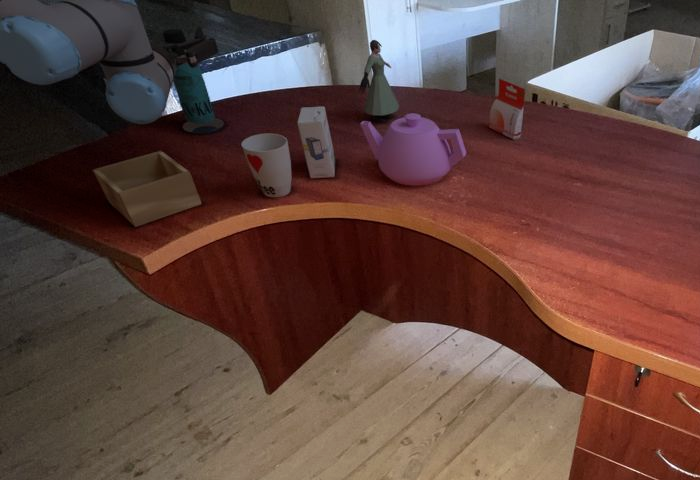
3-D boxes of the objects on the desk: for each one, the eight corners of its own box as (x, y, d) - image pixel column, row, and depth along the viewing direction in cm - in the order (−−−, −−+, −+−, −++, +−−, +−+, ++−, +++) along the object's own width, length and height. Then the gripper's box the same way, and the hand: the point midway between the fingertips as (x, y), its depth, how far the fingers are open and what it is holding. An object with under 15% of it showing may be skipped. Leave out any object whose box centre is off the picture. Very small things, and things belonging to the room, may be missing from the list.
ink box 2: (513, 141, 130) (517, 91, 122) (488, 128, 135) (490, 80, 127) (522, 138, 131) (526, 89, 124) (497, 125, 136) (499, 77, 128)
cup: (249, 188, 107) (234, 139, 100) (288, 177, 111) (276, 130, 104) (265, 205, 103) (251, 155, 96) (305, 193, 107) (294, 144, 100)
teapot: (472, 162, 121) (473, 107, 112) (457, 195, 109) (457, 137, 101) (378, 150, 123) (372, 96, 114) (354, 182, 111) (345, 124, 103)
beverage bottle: (186, 121, 128) (153, 27, 114) (216, 117, 130) (187, 24, 117) (189, 131, 124) (155, 35, 110) (220, 127, 126) (190, 32, 113)
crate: (108, 202, 101) (92, 169, 97) (173, 181, 108) (160, 150, 103) (135, 227, 96) (119, 194, 91) (202, 204, 102) (190, 172, 98)
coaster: (176, 125, 127) (175, 123, 127) (213, 116, 132) (212, 114, 132) (194, 137, 123) (193, 135, 123) (231, 127, 128) (230, 125, 128)
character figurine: (382, 134, 129) (373, 53, 116) (351, 129, 130) (339, 47, 118) (409, 111, 140) (404, 34, 128) (380, 106, 141) (372, 30, 129)
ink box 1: (334, 178, 112) (324, 121, 104) (309, 179, 111) (296, 122, 103) (336, 160, 118) (326, 105, 110) (311, 160, 117) (300, 105, 109)
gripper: (76, 96, 92) (101, 58, 106) (232, 89, 98) (236, 54, 112) (53, 48, 87) (83, 14, 101) (220, 44, 93) (226, 13, 107)
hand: (164, 35), depth 107 cm, fingers open, 13 cm apart
